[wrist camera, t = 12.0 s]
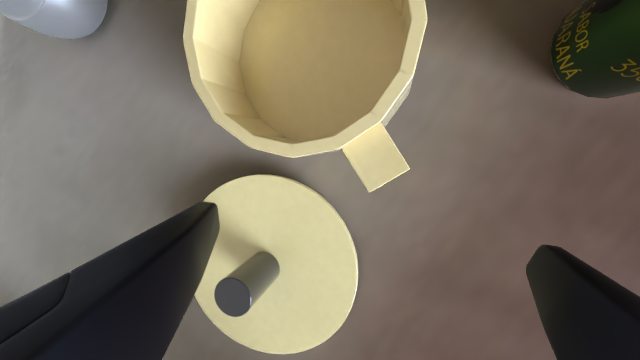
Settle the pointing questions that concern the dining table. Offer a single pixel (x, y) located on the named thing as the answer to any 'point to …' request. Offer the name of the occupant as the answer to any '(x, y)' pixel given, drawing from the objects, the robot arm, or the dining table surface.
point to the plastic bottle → (57, 16)
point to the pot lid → (278, 265)
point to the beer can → (599, 48)
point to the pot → (308, 74)
